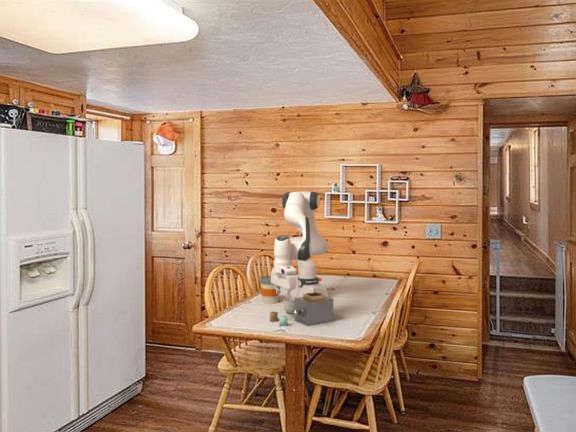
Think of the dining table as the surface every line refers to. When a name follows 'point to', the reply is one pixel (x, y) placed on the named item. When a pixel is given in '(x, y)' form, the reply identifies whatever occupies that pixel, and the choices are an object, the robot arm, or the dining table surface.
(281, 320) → the bead teal
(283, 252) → the robot arm
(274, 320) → the bead walnut
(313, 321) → the box
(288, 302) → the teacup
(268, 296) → the reusable coffee cup
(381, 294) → the dining table surface
